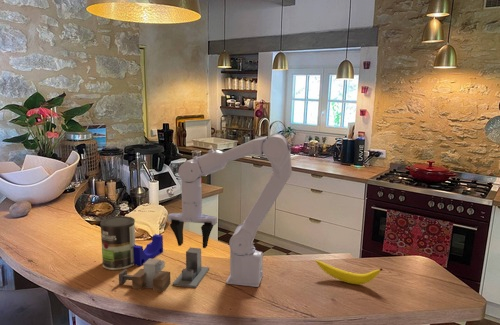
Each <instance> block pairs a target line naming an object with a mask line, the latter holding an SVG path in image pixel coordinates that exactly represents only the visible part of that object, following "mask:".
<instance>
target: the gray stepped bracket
mask: <svg viewBox="0 0 500 325" xmlns="http://www.w3.org/2000/svg"><path fill="white" fill-rule="evenodd" d="M201 267H202V248H201V247H200V248H199V247H189V248H188V249H187V250H186V251H185V268H186V269H185V268H182V270H181V273H182V281H190V282H192V281H193V279H194V278H195V277H196V276H197V275H198V274H199V273H200V271H201Z"/></svg>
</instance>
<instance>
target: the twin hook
mask: <svg viewBox="0 0 500 325" xmlns="http://www.w3.org/2000/svg"><path fill="white" fill-rule="evenodd" d="M165 262H166V261H165V260H162V259H160V258H153V259H150V258H149V259H148V260H147V261H146V262H145V263H144V264H143V265H142V266H143V269H144V288H147V289H153V278H154V277H155V276H156V275H157V274H158V273H159V272H160V271H163V269H164V268H165V267H166V266H165V264H166V263H165Z"/></svg>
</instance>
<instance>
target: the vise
mask: <svg viewBox="0 0 500 325" xmlns="http://www.w3.org/2000/svg"><path fill="white" fill-rule="evenodd" d="M126 281H131V286H132V287H131V288H132V290H141V291H142V290H143V289H144V288H145V287H144V268H139V270H137V271H136V272H135V273H134V274H133V275H132V274H128V270H127V269H122V270H121V271H120V272H119V274H118V284H119V285H123V284H124V283H125V282H126ZM170 285H171V271H167V270H161V271H160V272H159V273H158V274H157V275H156V276H155V277H154V278H153V288H152V290H153V292H159V293H164V292H165V291H166V289H168V287H169V286H170Z"/></svg>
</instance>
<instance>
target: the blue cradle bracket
mask: <svg viewBox="0 0 500 325" xmlns="http://www.w3.org/2000/svg"><path fill="white" fill-rule="evenodd" d="M163 239H164V237H163V235H162V234H157V233H156V234H153V235H152V240H151V241H150V242H149V243H148V244H146V246H145V248H144V247H143V245H137V244H135V246H134V247H133V251H134V265H133V266H139V267H141V266H143V264H144V263H145V262H146V261H147V260H148V259H149V258H150V259H155V258H156V257H157V256H159V255H161V254H162V253H164V243H163V242H164V241H163Z"/></svg>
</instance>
